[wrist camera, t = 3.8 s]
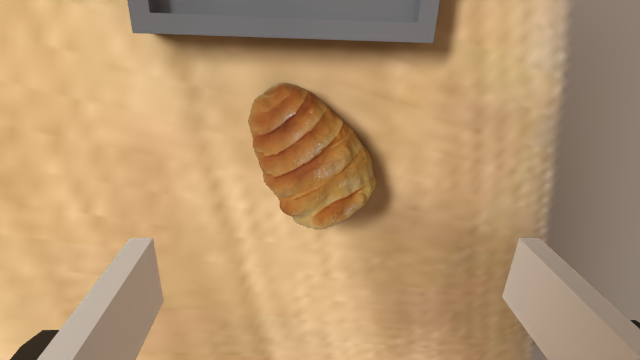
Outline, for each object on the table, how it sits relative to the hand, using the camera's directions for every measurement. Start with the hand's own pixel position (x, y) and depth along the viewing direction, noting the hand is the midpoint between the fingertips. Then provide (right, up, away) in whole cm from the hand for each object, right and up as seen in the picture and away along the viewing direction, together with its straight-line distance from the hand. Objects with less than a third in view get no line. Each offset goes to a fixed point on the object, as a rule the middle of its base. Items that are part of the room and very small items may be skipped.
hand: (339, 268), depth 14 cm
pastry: (-1, +5, +12) cm, 13 cm away
